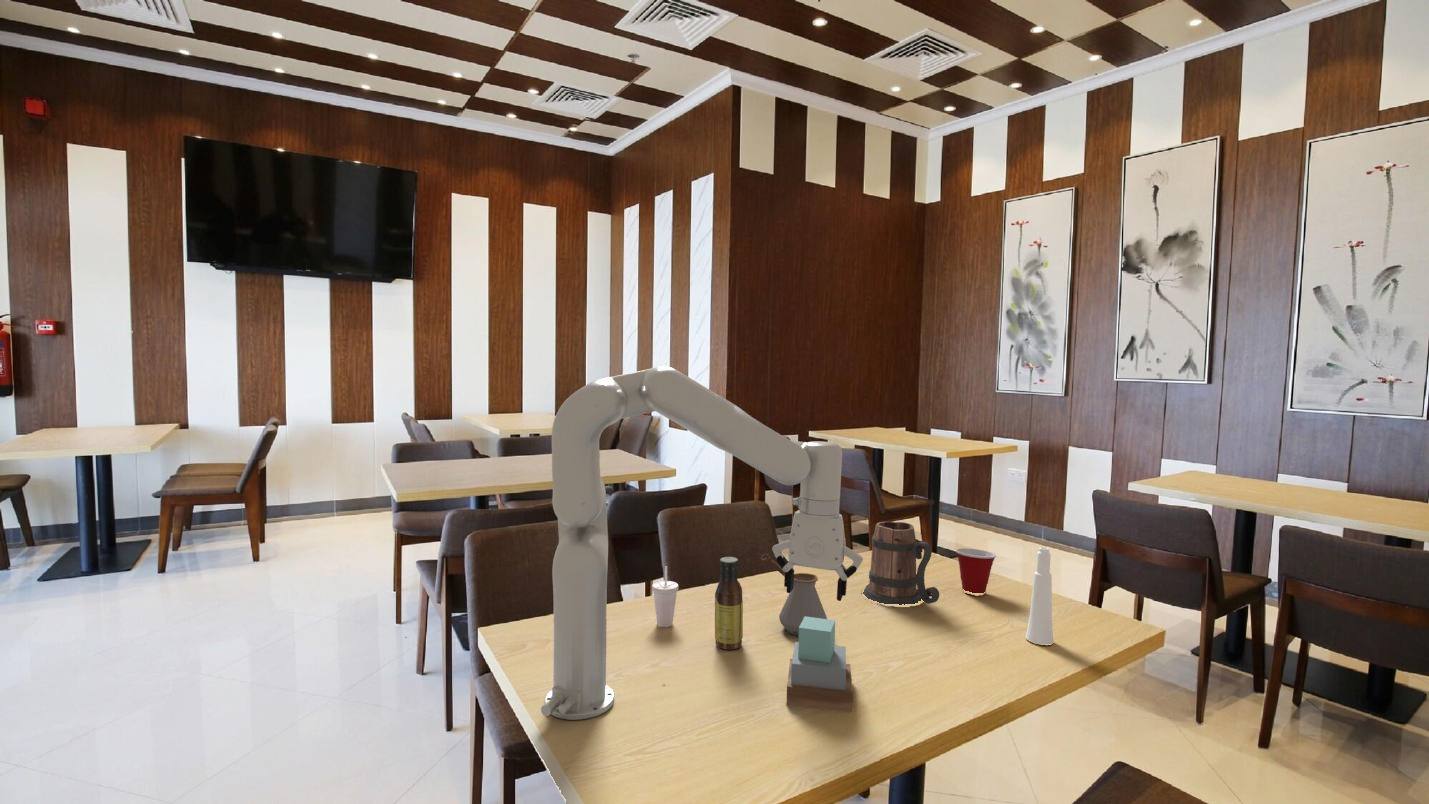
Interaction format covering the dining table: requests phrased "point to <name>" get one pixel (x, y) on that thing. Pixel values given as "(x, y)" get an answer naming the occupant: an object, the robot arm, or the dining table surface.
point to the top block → (820, 670)
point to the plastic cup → (975, 568)
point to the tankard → (898, 566)
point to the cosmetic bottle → (1041, 601)
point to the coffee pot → (799, 600)
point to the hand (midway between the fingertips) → (814, 594)
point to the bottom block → (821, 695)
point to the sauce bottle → (728, 606)
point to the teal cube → (816, 639)
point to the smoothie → (665, 601)
